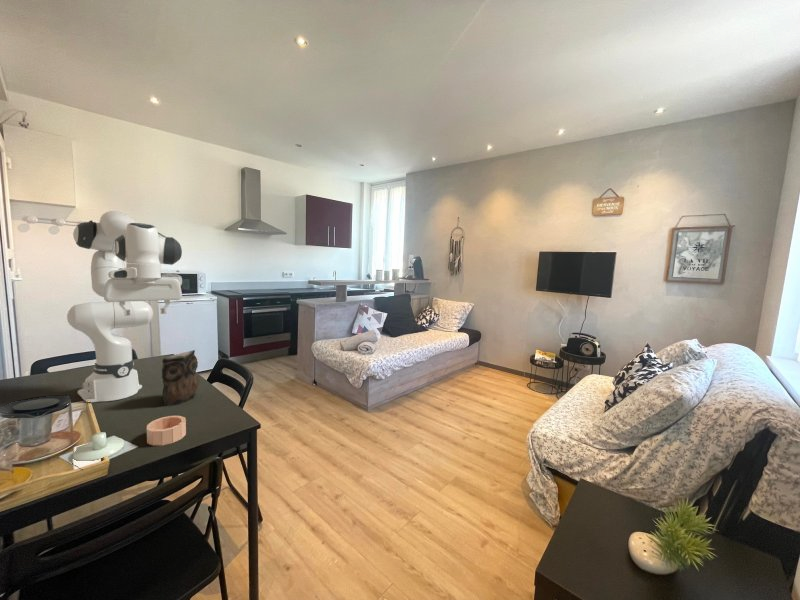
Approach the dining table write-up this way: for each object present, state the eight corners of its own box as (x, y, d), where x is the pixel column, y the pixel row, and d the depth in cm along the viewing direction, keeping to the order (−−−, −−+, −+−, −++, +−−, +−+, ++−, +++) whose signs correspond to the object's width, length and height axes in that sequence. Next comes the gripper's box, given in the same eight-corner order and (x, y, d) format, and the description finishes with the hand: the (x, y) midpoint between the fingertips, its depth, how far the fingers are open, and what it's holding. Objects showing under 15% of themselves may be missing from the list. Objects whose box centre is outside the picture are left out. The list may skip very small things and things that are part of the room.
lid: (65, 455, 92) (64, 438, 91) (111, 437, 102) (111, 422, 101) (85, 467, 88) (85, 449, 87) (132, 447, 98) (131, 431, 97)
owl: (200, 392, 140) (199, 348, 138) (193, 405, 128) (193, 356, 126) (165, 395, 135) (164, 349, 133) (155, 408, 123) (154, 358, 121)
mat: (58, 457, 92) (58, 456, 91) (113, 436, 103) (113, 435, 103) (83, 471, 87) (83, 470, 86) (138, 447, 98) (138, 446, 98)
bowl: (139, 440, 102) (139, 426, 101) (173, 426, 111) (172, 413, 111) (159, 449, 98) (159, 434, 98) (192, 434, 107) (192, 420, 107)
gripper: (180, 273, 115) (181, 311, 116) (103, 272, 101) (105, 315, 103) (183, 273, 110) (184, 313, 111) (102, 272, 97) (104, 317, 98)
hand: (145, 314), depth 107 cm, fingers open, 8 cm apart
